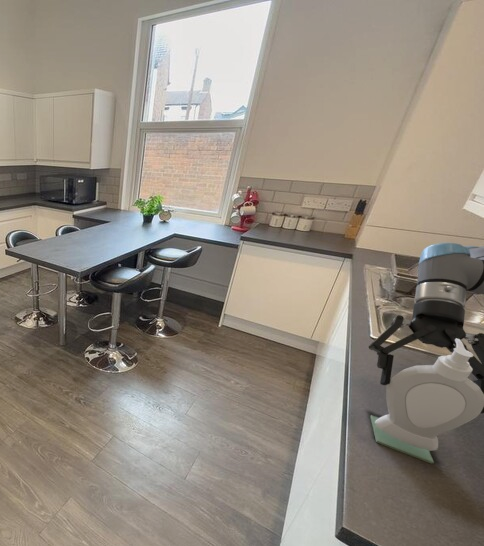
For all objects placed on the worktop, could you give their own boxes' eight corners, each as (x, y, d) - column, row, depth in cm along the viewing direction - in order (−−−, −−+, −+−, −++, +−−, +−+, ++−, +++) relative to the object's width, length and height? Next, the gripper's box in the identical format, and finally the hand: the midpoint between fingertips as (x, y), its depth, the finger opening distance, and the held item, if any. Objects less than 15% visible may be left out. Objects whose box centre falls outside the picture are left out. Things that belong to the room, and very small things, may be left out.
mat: (420, 434, 72) (422, 433, 72) (432, 464, 65) (434, 462, 65) (370, 416, 77) (370, 414, 77) (376, 442, 70) (377, 440, 70)
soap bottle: (442, 435, 69) (509, 351, 58) (448, 462, 64) (524, 376, 52) (366, 405, 76) (412, 325, 65) (366, 427, 71) (416, 345, 60)
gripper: (371, 285, 74) (357, 370, 68) (540, 317, 61) (540, 425, 55) (360, 297, 80) (346, 376, 74) (512, 328, 67) (509, 427, 61)
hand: (428, 397), depth 64 cm, fingers closed on soap bottle, 13 cm apart
